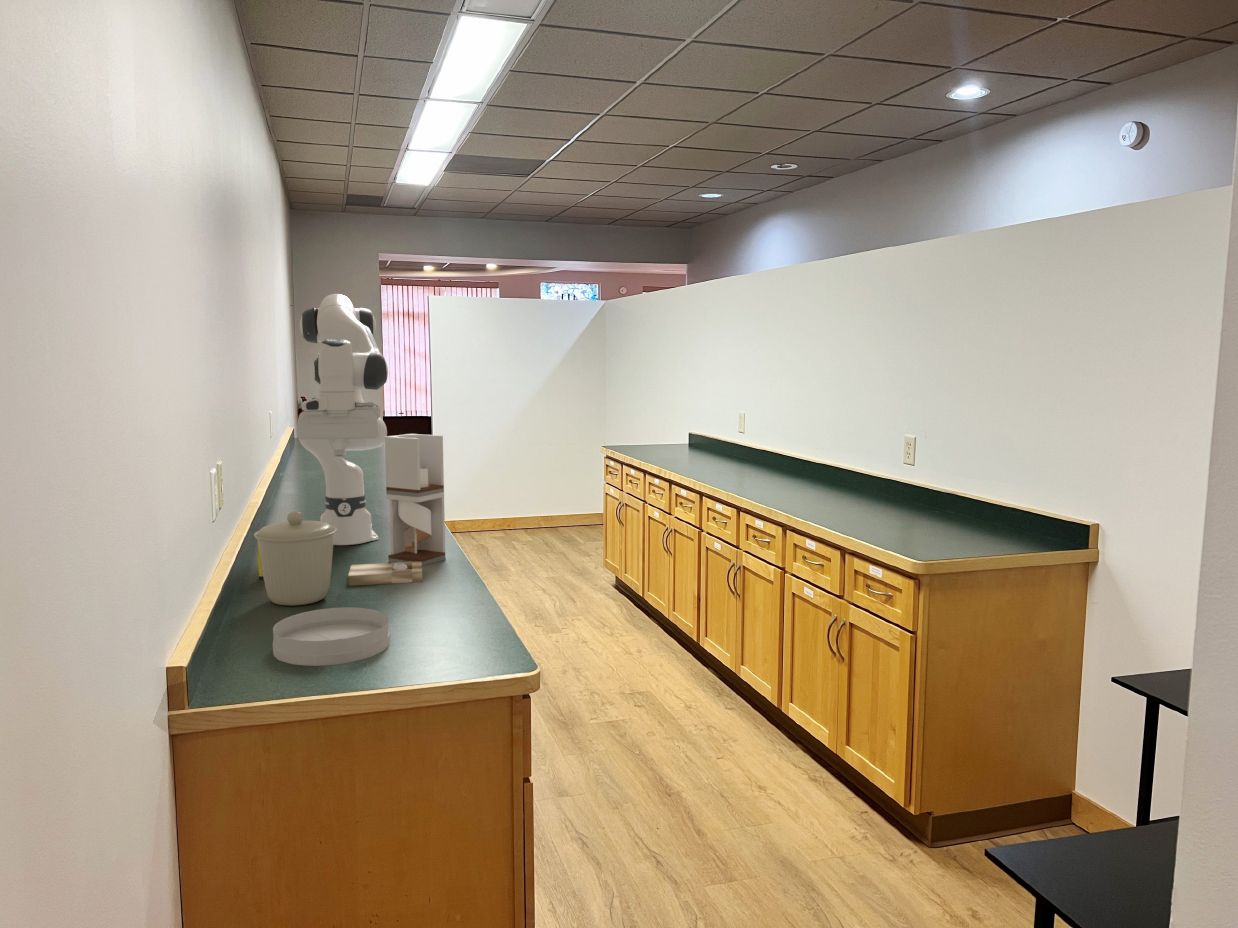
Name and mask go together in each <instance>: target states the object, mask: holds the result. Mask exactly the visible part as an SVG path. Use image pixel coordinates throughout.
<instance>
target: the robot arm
mask: <svg viewBox="0 0 1238 928" xmlns="http://www.w3.org/2000/svg"><path fill="white" fill-rule="evenodd" d="M373 313H374V312H373V311H371V310H370V309H368V308H364V307H357V308H356V307H355V306H354V305H353V303H352V301H351V299H350V298H348V296H346V295H343V294H340V293H332V294H328V295H326V296H325V297H324V299H322V301H321V303H320V304H319V307H311V308H307V309H305V310H304V311H303V312H302V313H301V317H300V320H299V330H300V334H301V335H302V336H303V339H304V340H305V341H306V342H309V343H311V344H318V343H319V348H318V349H319V350H318V357H316V359H314V361H313V367H314V381H315V382H316V383H317V384H318V385H320V386H319V392H318V393H319V396H318V397H313V398H311V399H308V400H304V401H303V402H302V403H301V404H300V408H301V410H302V412H300V413H299V415H298V419H297V424H296V425H297V428H296V435H297V438H298V441H299V443H300V445H301V446H302V448H304V449H305V450H306V451H308V452H309V453H311V454H312V455H313V456H314V457H315V458H316V459H317V460H318V462H319V464H320V465H321V468H322V470H323V473H324V480H325V490H326V491H325V492H326V493H325V494H326V495H325V497H324V504H325V505H324V508H325V511H324V512H323V513H322V514H321V515H320V522H325V523H328V524H329V525H331V526H333V527H335V528H336V529H337V531H336V533H335V534H334V539H333V546H351V545H359V544H365V543H367V542H371V541H372V542H373V541H378V540H379V535H378V534H377V533H376V532H375V531H374V530H373V524H372V514H371V513H370V511H368V510H367V509H366V506H367V498H366V494H365V484H364V483H365V482H364V480H365V479H364V471H363V470H362V468H361V467H360V466H359V465H358V464H356V463H354V462H351V461H349V460H347V459H345V458H344V457H346V456H347V452H346V451H349V452H350V451H351V452H353V451H357V452H358V451H368V450H373V449H377V448H381V447H382V446H383V445H384V444H385V437H387V436H388V430H387V429H388V428H387V425H386V423H385V421H384V420H383V418H381V408H380V406H378V405H377V404H375V403H374V402H365V400H364V398H363V395H362V390H364V389H365V390H375V391H377V390H379V389H380V388H382V387H383V386H384V385H385V384H386V383H387V381H388V376H389V369H388V364H387V361H386V360H385V356H384V355H383V354H382V353H381V351H380V348H379V347H378V344H377V341H376V339H375V334H376V331H377V321H376V318H375V316H374V314H373Z"/></svg>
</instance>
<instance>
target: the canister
mask: <svg viewBox="0 0 1238 928" xmlns="http://www.w3.org/2000/svg"><path fill="white" fill-rule="evenodd" d="M286 519H287V520H286V521H281V522H275V523H270V524H267V525H265V526H263V527H261V528H260V529H259V530H257V531H255V532H254V534H253V537H254V538H255V539H256V540H257V541H258V546H257V549H258V548H259V554H260V560H261V566H262V572H263V577H264V579H263V581H264V586H265V591H266V594H267V597H268V599H269V600H270V601H271V602H272V603H273V604H275V605H280V606H289V607H291V606H292V607H293V606H304V605H305V606H306V605H309V604H315V603H316V602H319V601H322V600H323V599H325V598H326V596H327V594H328V593H329V590H330V587H331V585H330V584H331V577H332V576H331V575H332V567H333V566H332V564H333V554H334V553H333V551H334V545H333V539H334V534H335V533H336V531H337V529H336V528H335V527H333V526H331V525H329V524H328V523H325V522H321V520H320V521H319V520H304V515H303V513H301V511H291V512H289V513H288V514H287V516H286Z"/></svg>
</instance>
